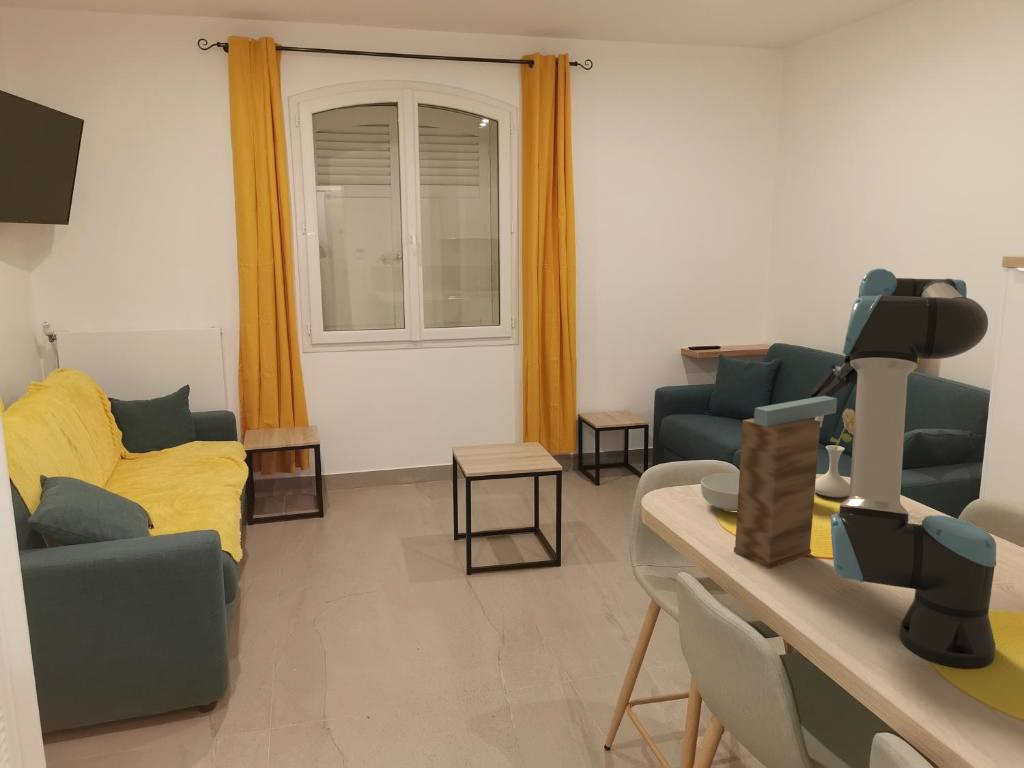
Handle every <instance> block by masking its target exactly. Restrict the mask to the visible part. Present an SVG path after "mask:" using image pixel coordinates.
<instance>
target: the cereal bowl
mask: <svg viewBox="0 0 1024 768" xmlns="http://www.w3.org/2000/svg"><path fill="white" fill-rule="evenodd" d="M739 476H740V473H738V474H737V473H736V474H735V473H726V472H725V473H724V472H723V473H721V472H720V473H712V474H708V475H706V476H703V477H702V478H701V481H700V491H701V492H700V493H701V494H702V497H703V498H704V499H705V501H706V502H707V503H708V504H710V505H712V506H714V507H716V508H718V509H719V510H721V509H722V510H721V511H723V510H727V511H737V508H738V492H739ZM727 511H726V512H727Z"/></svg>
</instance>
